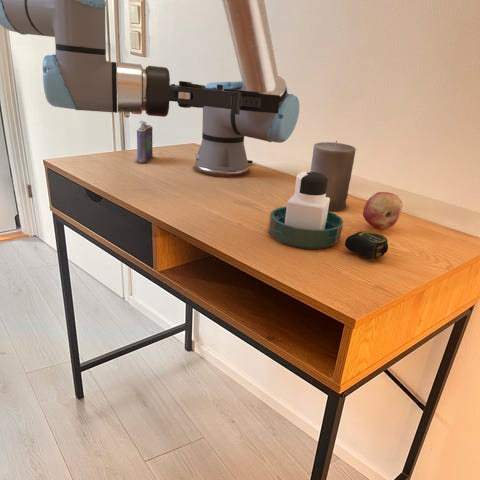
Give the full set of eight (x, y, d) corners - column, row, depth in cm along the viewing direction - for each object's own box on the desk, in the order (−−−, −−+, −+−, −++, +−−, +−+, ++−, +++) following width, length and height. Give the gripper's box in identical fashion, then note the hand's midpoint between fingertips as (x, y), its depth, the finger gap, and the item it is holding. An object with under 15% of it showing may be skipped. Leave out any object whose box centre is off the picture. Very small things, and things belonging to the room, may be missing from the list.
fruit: (359, 231, 104) (366, 194, 100) (361, 220, 111) (368, 185, 107) (396, 237, 103) (405, 200, 99) (396, 226, 109) (405, 190, 105)
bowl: (289, 219, 108) (292, 201, 106) (350, 236, 102) (354, 217, 100) (255, 236, 97) (257, 217, 95) (320, 256, 91) (324, 236, 89)
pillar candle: (353, 208, 118) (366, 144, 110) (322, 213, 113) (333, 145, 106) (327, 197, 125) (338, 135, 117) (297, 200, 120) (305, 136, 113)
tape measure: (341, 251, 94) (344, 233, 92) (365, 245, 97) (369, 227, 96) (367, 265, 89) (371, 246, 87) (392, 258, 93) (397, 239, 91)
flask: (144, 164, 140) (143, 124, 135) (134, 162, 140) (133, 123, 135) (154, 157, 148) (153, 119, 143) (144, 156, 148) (143, 118, 143)
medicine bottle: (324, 231, 101) (334, 172, 95) (318, 242, 95) (328, 181, 89) (291, 225, 103) (298, 167, 97) (282, 236, 97) (290, 175, 91)
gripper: (140, 109, 93) (248, 118, 99) (148, 121, 72) (286, 132, 77) (140, 65, 90) (252, 77, 95) (149, 64, 69) (292, 79, 74)
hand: (267, 102), depth 86 cm, fingers open, 13 cm apart
